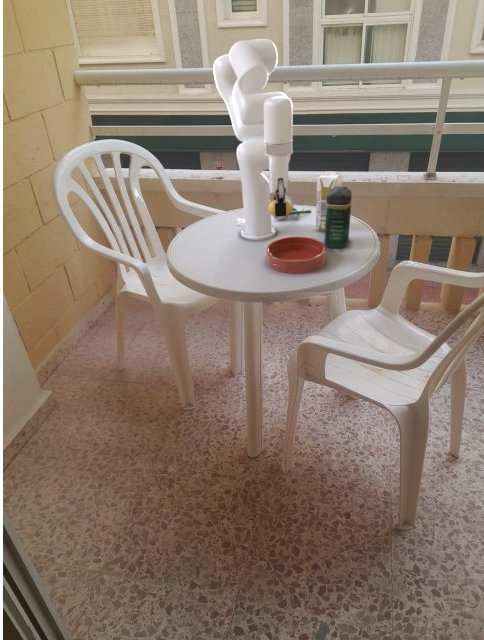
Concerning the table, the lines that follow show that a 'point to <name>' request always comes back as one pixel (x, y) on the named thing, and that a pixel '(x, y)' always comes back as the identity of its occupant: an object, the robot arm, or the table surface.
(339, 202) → the coffee jar
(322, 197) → the juice carton
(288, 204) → the tulip
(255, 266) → the table surface
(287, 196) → the ceramic mug
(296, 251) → the bowl
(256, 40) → the robot arm
